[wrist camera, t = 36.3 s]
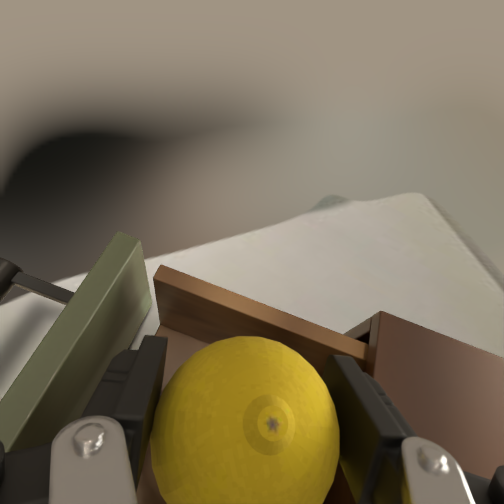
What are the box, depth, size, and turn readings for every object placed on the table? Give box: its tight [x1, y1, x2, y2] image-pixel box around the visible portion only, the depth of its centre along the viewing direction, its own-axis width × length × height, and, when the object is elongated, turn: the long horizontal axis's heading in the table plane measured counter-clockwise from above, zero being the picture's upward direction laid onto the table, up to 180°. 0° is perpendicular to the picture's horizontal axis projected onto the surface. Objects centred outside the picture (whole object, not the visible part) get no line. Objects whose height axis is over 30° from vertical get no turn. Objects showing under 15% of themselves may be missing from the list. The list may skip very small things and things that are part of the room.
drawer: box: [0, 232, 369, 504], centre depth 16 cm, size 21×12×8 cm, turn 72°
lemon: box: [150, 336, 340, 504], centre depth 10 cm, size 6×6×8 cm
